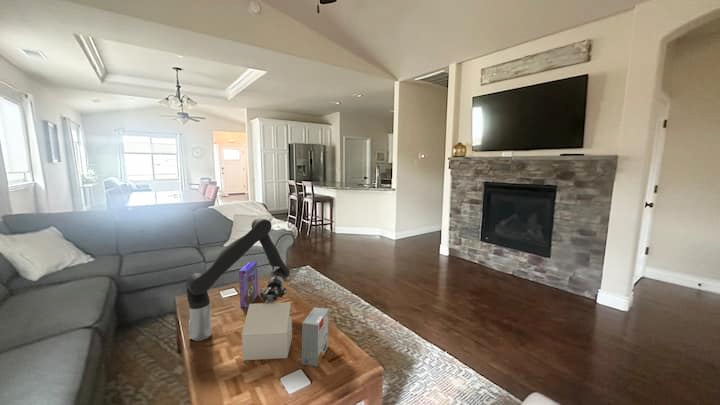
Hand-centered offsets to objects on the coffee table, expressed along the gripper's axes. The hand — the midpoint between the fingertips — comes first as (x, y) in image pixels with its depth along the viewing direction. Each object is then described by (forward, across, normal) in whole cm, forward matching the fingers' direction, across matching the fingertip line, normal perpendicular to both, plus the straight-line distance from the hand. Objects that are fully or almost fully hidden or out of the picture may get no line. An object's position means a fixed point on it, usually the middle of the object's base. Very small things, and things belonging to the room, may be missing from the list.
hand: (269, 299), depth 141 cm
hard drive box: (+11, +23, +23) cm, 35 cm away
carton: (+4, 0, +23) cm, 24 cm away
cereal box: (-47, -22, +24) cm, 58 cm away
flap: (+3, 0, +6) cm, 7 cm away
